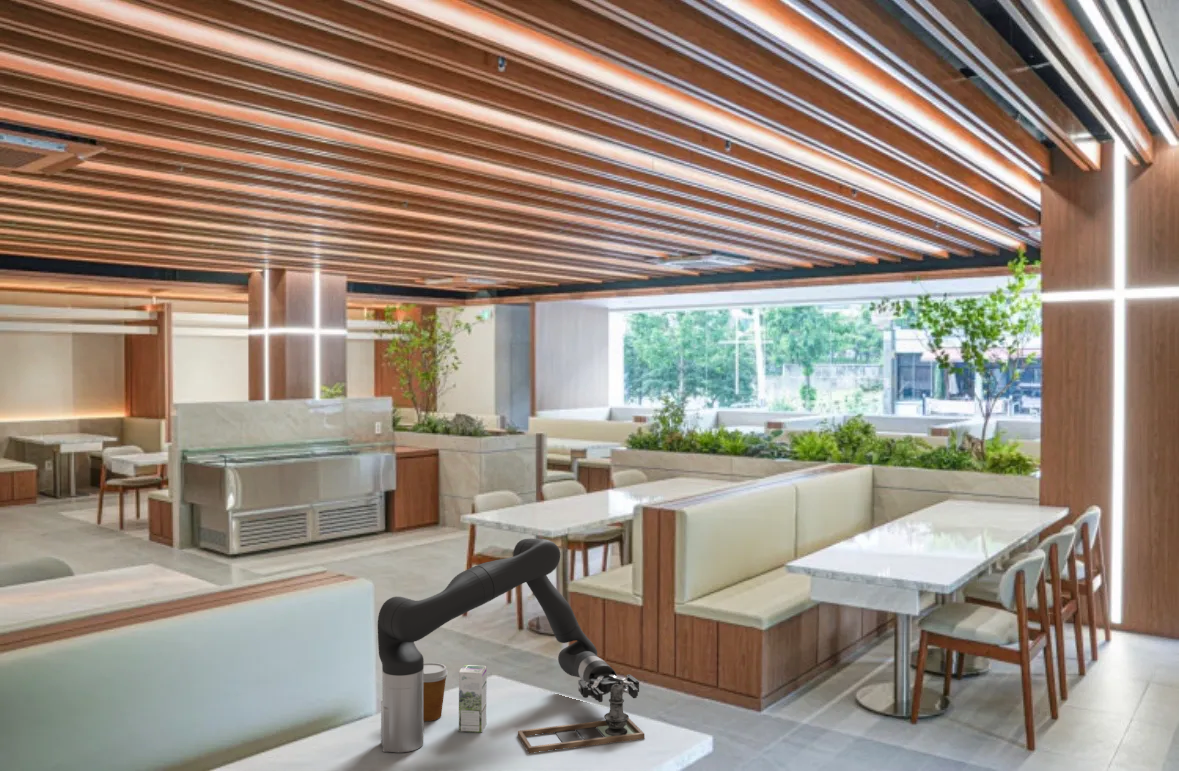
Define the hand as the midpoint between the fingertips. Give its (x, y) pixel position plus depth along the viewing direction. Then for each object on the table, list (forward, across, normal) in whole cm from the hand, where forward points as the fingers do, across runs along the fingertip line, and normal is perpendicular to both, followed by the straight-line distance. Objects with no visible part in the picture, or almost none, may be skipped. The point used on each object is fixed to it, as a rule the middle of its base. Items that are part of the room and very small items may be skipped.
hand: (618, 696), depth 210 cm
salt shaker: (-1, 0, +9) cm, 9 cm away
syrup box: (-14, -32, +9) cm, 36 cm away
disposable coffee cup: (-25, -41, +9) cm, 49 cm away
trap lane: (-1, -9, +9) cm, 13 cm away
